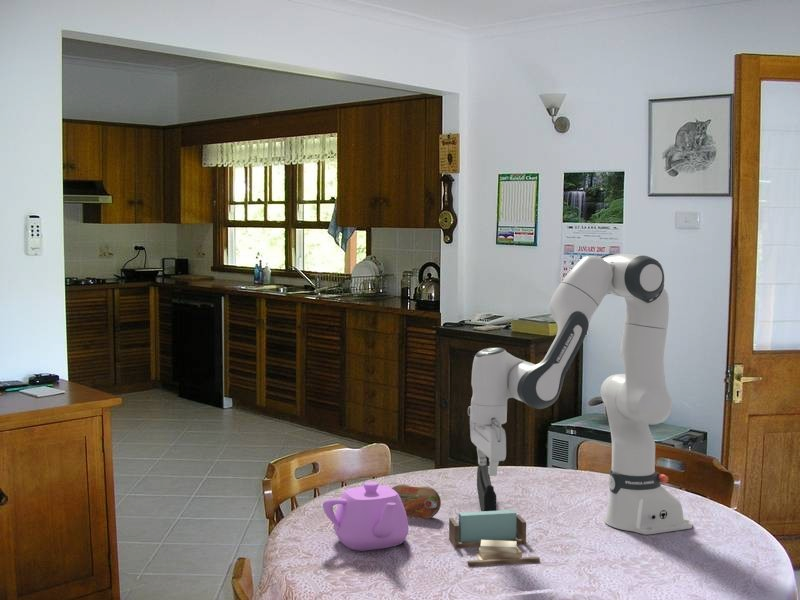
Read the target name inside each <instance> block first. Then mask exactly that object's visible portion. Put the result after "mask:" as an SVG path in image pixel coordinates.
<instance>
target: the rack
mask: <svg viewBox="0 0 800 600" xmlns="http://www.w3.org/2000/svg"><path fill="white" fill-rule="evenodd" d="M448 521H449V522H448V541H450V543H451V545H452V546H453V548H454V549H455V548H456V549H458V548H475V547H476V548H477V547H478V548H480V545H481V541H476V542H459V523H457V521H456V520H455V518H454V517H449V519H448ZM501 541H517V545H526V544H527V521H526V520H525V519H524V518H523V517H522V516H521V515H520V514H516V539H511V540H501ZM540 560H541V558H540V557H539V556H526V557H525V556H524V557H523V556H522V558H507V559H490V560H479V559H476V560H475V559H473V560H467V566H468V567H480V566H497V565H498V566H499V565H513V564H526V563H529V564H530V563H540V562H541V561H540Z"/></svg>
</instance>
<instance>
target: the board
mask: <svg viewBox="0 0 800 600" xmlns="http://www.w3.org/2000/svg"><path fill="white" fill-rule="evenodd" d="M516 515H517V512H516V511H515V510H514V509H505V510H501V509H500V510H497V511H481V510H480V511H465V512H458V525H459V542H476V541H481V540H511V539H517V538H516Z"/></svg>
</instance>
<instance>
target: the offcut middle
mask: <svg viewBox="0 0 800 600" xmlns="http://www.w3.org/2000/svg"><path fill="white" fill-rule="evenodd" d="M478 553H479V555H480V556H481V558H482V559H483V560H490V559H507V558H523V551H522V550H521V549H520V548H519V547H518V546H517V548H516V554H514V553H492V552H480V547H478Z"/></svg>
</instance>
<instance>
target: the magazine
mask: <svg viewBox="0 0 800 600" xmlns="http://www.w3.org/2000/svg"><path fill="white" fill-rule="evenodd" d="M488 467H489V465H488V462H487V460H486V465H485V466H481V465H479V464H478V466H477V469H476V470H477V471H476V489H477V496H478V497H477V498H478V502H479V508H480V512H481V511H498V510H497V494H496V492H495V490H494V486H493V485H492V483H491V482H492V481H491V476H490V475H489V474H488Z"/></svg>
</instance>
